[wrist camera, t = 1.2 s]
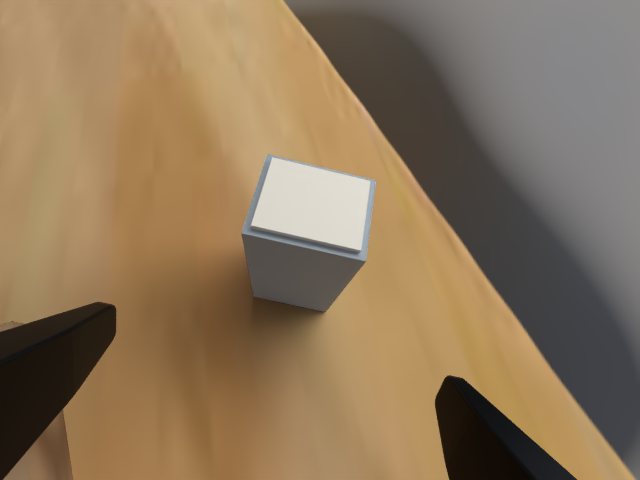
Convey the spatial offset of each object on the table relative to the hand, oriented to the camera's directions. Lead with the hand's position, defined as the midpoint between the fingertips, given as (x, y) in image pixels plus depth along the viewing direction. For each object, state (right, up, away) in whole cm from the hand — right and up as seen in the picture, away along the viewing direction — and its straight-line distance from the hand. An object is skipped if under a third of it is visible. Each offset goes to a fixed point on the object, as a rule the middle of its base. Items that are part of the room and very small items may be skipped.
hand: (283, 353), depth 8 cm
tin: (-1, 0, +14) cm, 14 cm away
